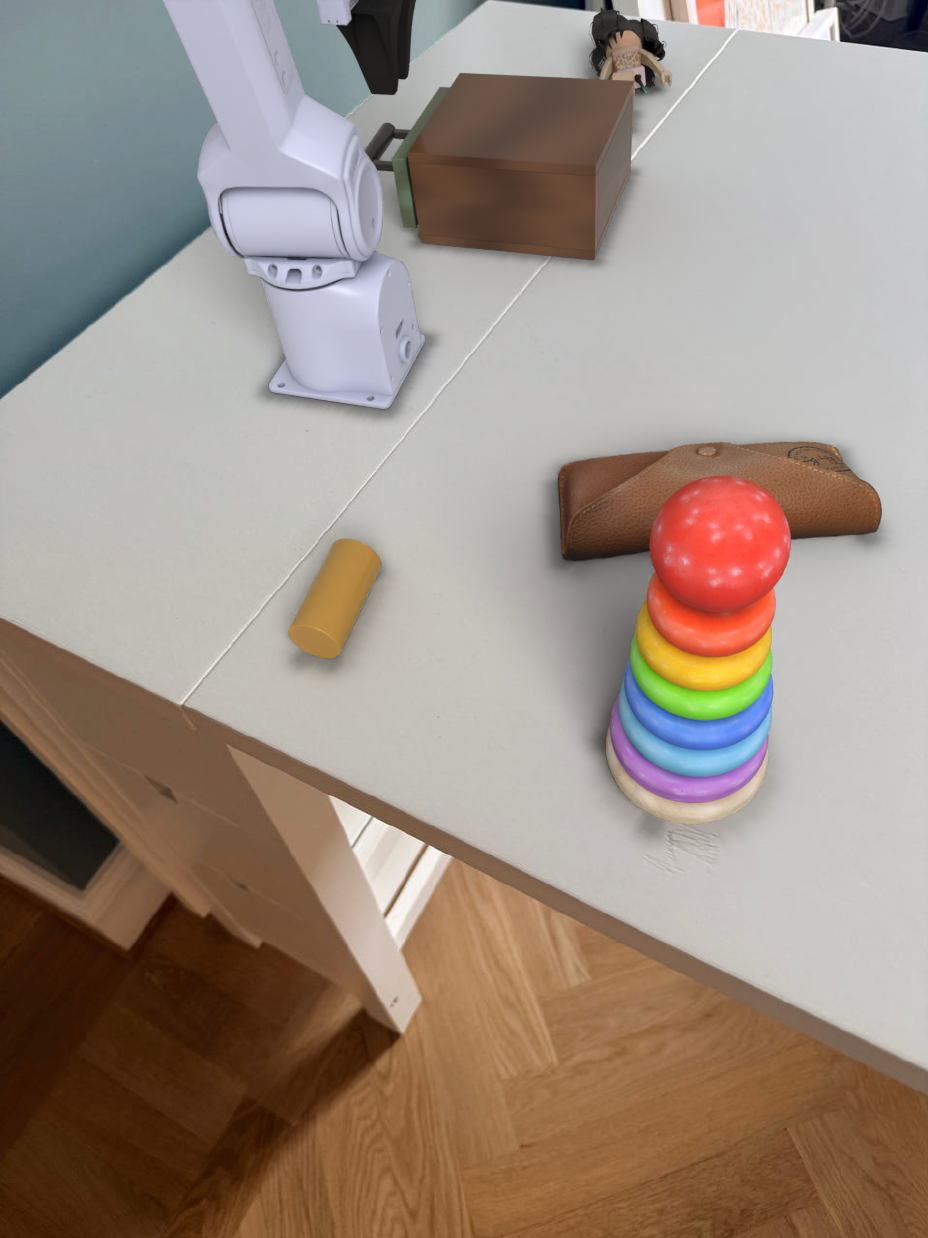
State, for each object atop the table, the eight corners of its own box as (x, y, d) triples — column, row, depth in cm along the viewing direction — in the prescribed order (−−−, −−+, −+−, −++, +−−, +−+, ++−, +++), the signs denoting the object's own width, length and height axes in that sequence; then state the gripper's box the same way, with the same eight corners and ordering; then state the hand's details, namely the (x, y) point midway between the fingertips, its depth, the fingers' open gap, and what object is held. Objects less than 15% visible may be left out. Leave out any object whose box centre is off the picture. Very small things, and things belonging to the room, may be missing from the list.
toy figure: (681, 130, 83) (658, 45, 91) (678, 58, 78) (654, -25, 86) (601, 148, 84) (585, 63, 93) (593, 79, 79) (577, -5, 87)
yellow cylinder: (385, 578, 56) (378, 544, 54) (344, 664, 53) (335, 633, 50) (337, 567, 57) (327, 533, 55) (293, 651, 54) (281, 619, 51)
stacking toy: (799, 765, 47) (902, 512, 31) (683, 863, 44) (734, 641, 29) (685, 664, 51) (727, 398, 36) (573, 749, 48) (568, 503, 33)
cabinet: (421, 243, 77) (406, 152, 71) (469, 161, 83) (459, 72, 77) (595, 260, 73) (595, 165, 67) (630, 173, 79) (634, 80, 73)
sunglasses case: (837, 436, 58) (876, 402, 52) (851, 546, 58) (892, 526, 51) (550, 465, 60) (553, 436, 53) (561, 573, 59) (564, 558, 52)
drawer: (350, 222, 78) (335, 154, 73) (398, 150, 84) (387, 83, 79) (561, 242, 73) (560, 170, 68) (596, 164, 79) (597, 93, 74)
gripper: (342, -164, 67) (376, 40, 78) (255, -85, 60) (306, 128, 71) (434, -167, 65) (455, 43, 76) (356, -86, 58) (392, 134, 69)
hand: (389, 84), depth 73 cm, fingers closed
